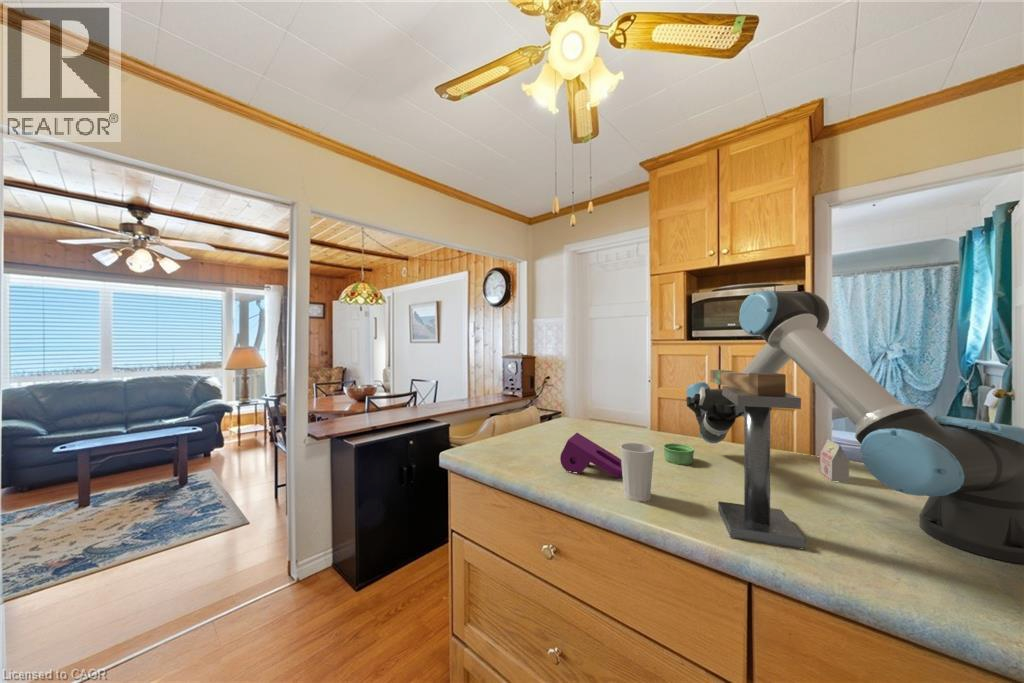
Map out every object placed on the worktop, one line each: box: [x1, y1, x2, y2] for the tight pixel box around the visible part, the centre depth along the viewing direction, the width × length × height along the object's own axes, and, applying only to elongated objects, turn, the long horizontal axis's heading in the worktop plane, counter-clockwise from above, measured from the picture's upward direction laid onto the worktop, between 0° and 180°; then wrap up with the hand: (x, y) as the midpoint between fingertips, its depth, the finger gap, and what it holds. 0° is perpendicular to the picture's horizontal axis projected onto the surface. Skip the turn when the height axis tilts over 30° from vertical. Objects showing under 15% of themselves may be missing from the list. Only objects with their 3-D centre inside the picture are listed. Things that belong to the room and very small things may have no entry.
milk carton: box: [819, 438, 850, 483], centre depth 100 cm, size 4×7×10 cm, turn 162°
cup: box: [619, 442, 655, 502], centre depth 90 cm, size 8×8×12 cm
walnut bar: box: [709, 369, 787, 396], centre depth 80 cm, size 22×5×4 cm, turn 175°
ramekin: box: [663, 442, 695, 466], centre depth 115 cm, size 9×9×4 cm
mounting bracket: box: [559, 432, 623, 479], centre depth 107 cm, size 9×8×18 cm
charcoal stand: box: [717, 385, 806, 550], centre depth 74 cm, size 15×12×28 cm
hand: (732, 392), depth 93 cm, fingers open, 13 cm apart
